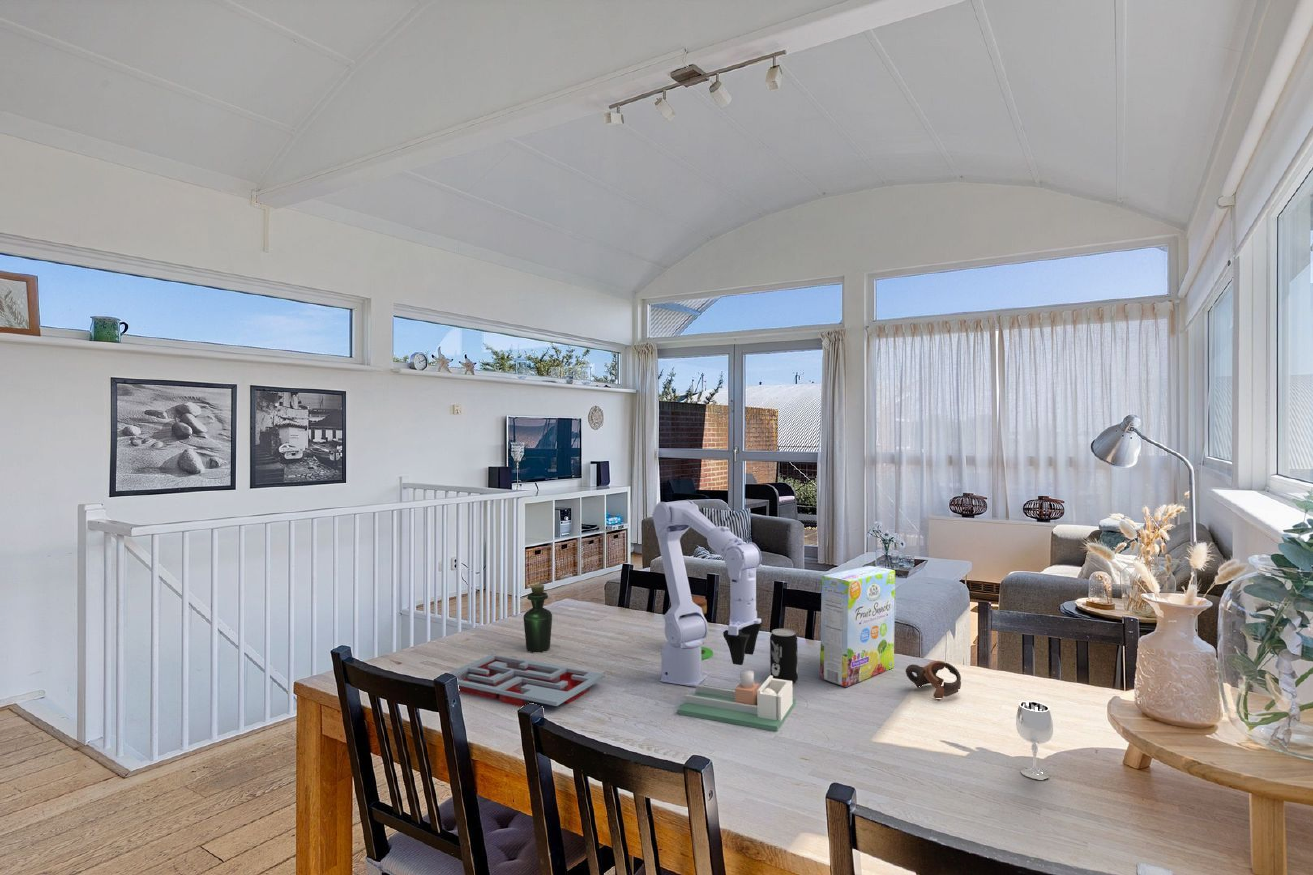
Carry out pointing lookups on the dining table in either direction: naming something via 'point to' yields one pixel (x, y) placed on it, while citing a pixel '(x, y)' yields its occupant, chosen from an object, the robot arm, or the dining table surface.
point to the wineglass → (1034, 727)
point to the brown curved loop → (934, 678)
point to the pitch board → (726, 708)
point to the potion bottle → (537, 621)
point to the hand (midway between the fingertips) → (743, 658)
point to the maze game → (524, 680)
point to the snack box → (857, 624)
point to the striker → (747, 689)
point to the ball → (768, 691)
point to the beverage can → (784, 655)
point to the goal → (774, 699)
